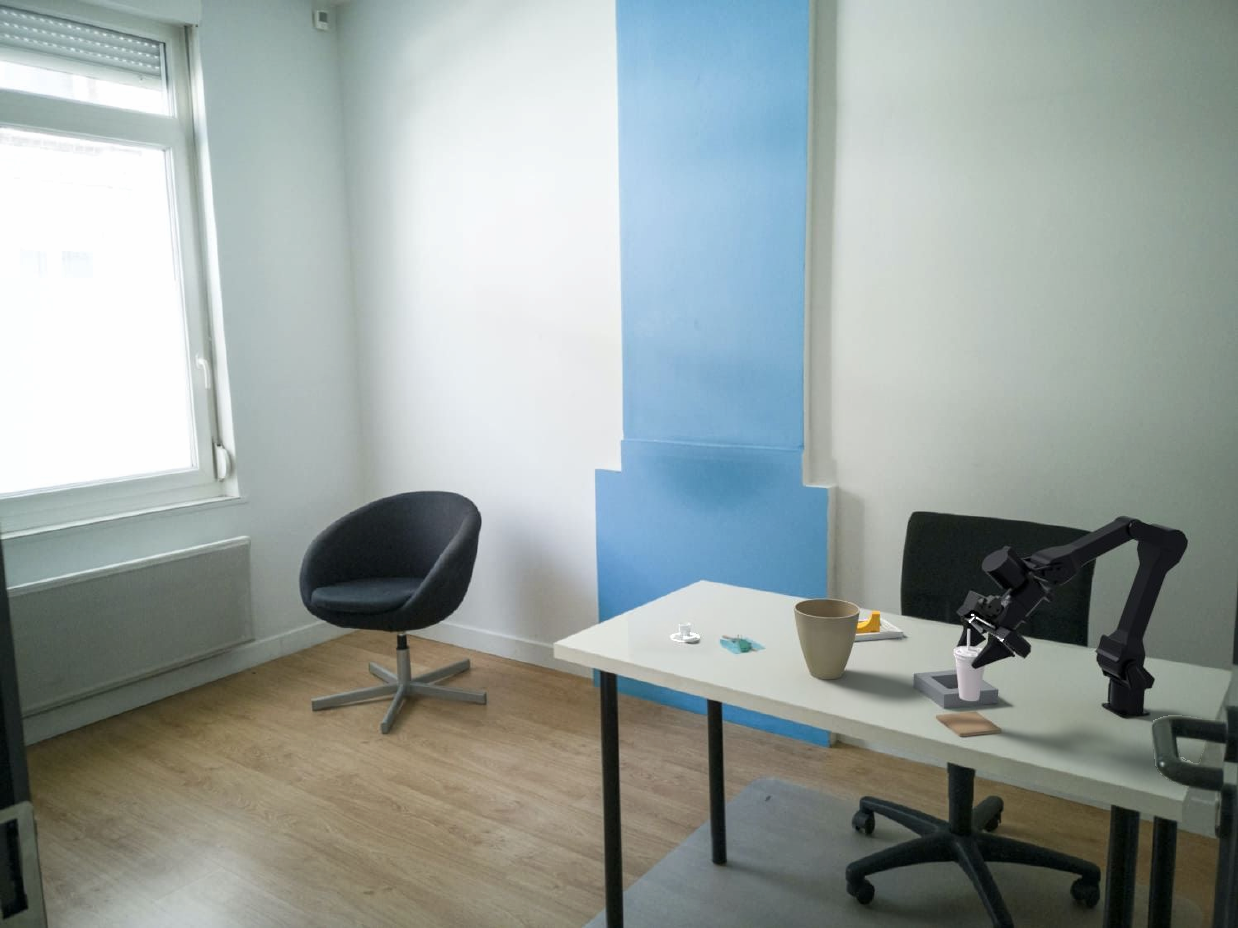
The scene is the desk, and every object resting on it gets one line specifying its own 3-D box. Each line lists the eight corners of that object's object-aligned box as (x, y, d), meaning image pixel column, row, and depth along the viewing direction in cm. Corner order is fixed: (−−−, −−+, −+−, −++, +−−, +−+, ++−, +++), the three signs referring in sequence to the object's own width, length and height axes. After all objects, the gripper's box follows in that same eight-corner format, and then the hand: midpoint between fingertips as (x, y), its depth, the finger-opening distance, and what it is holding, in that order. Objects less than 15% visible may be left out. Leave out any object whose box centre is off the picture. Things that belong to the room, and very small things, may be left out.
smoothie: (967, 689, 187) (969, 623, 185) (993, 699, 182) (995, 631, 180) (945, 695, 184) (947, 628, 182) (971, 706, 178) (973, 637, 177)
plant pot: (781, 667, 217) (781, 602, 215) (835, 659, 222) (836, 595, 220) (814, 689, 203) (815, 620, 201) (872, 680, 208) (873, 612, 206)
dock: (998, 702, 194) (998, 689, 194) (943, 708, 192) (944, 694, 191) (964, 681, 206) (965, 668, 206) (913, 686, 204) (913, 673, 204)
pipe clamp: (878, 633, 241) (879, 609, 241) (879, 638, 237) (879, 614, 236) (832, 630, 244) (832, 607, 244) (831, 635, 240) (832, 611, 239)
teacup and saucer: (698, 645, 235) (698, 630, 235) (667, 644, 237) (667, 629, 236) (701, 634, 244) (701, 620, 243) (672, 633, 245) (671, 618, 245)
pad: (1001, 732, 180) (1001, 729, 180) (960, 736, 178) (960, 733, 178) (975, 714, 188) (975, 711, 188) (935, 718, 187) (935, 715, 187)
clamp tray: (903, 637, 237) (903, 631, 237) (838, 642, 234) (838, 636, 234) (881, 623, 249) (881, 618, 249) (819, 628, 246) (819, 623, 246)
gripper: (966, 566, 189) (915, 622, 189) (1018, 590, 171) (962, 651, 171) (1000, 600, 191) (950, 655, 191) (1055, 627, 173) (1000, 688, 173)
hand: (964, 661), depth 182 cm, fingers closed on smoothie, 6 cm apart
